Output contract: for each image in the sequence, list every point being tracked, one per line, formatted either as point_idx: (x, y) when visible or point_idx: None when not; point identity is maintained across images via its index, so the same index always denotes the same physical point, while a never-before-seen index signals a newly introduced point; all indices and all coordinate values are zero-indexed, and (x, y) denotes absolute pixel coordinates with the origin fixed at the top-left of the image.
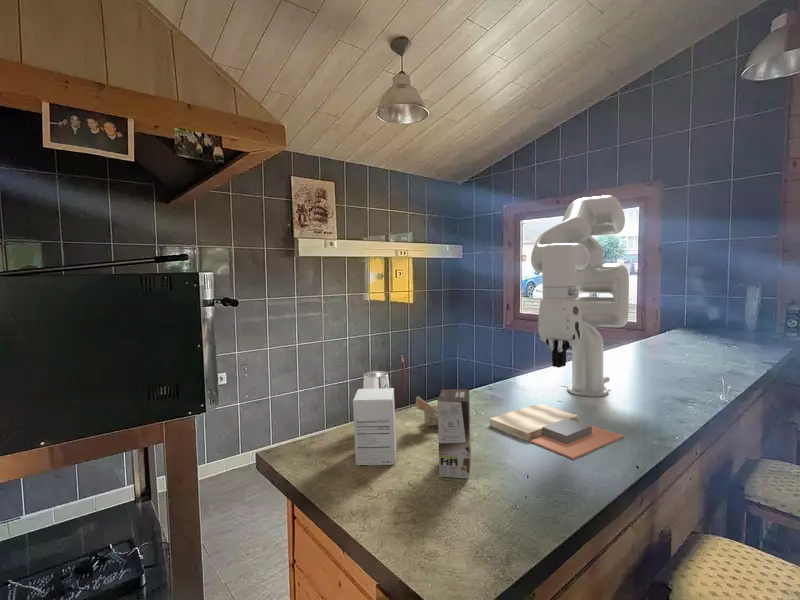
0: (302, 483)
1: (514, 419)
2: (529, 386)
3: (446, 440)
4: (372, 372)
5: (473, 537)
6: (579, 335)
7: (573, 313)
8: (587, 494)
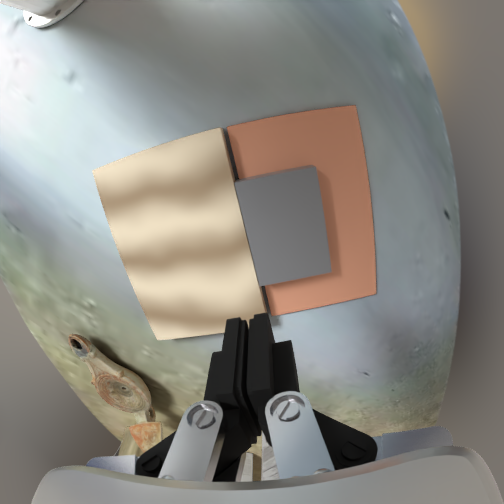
0: None
1: (179, 302)
2: None
3: None
4: None
5: (396, 431)
6: (444, 469)
7: None
8: (436, 335)
